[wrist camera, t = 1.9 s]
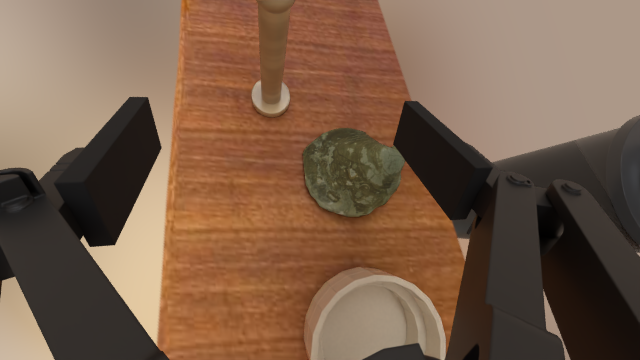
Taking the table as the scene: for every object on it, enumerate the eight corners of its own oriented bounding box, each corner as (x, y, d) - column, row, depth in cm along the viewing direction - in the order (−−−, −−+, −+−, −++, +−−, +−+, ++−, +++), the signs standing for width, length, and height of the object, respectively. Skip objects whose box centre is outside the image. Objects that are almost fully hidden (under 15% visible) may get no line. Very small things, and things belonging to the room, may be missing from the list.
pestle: (295, 107, 35) (326, -11, 17) (263, 123, 34) (260, 14, 16) (278, 76, 35) (289, -73, 17) (245, 91, 34) (222, -52, 16)
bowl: (435, 343, 34) (470, 367, 28) (341, 417, 31) (359, 462, 25) (378, 244, 35) (401, 249, 29) (281, 308, 32) (284, 328, 26)
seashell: (288, 145, 33) (369, 114, 27) (320, 135, 39) (391, 107, 33) (320, 228, 34) (402, 215, 28) (346, 205, 40) (418, 190, 34)
